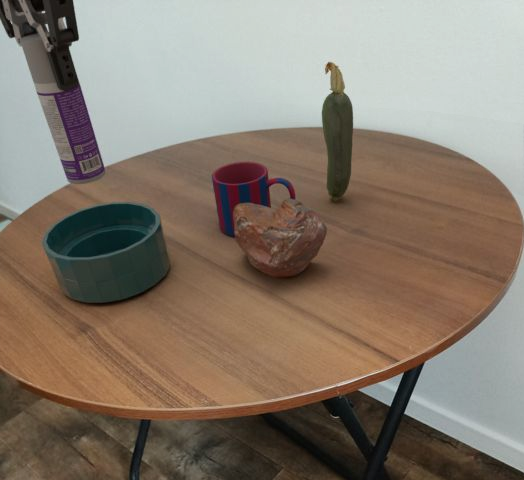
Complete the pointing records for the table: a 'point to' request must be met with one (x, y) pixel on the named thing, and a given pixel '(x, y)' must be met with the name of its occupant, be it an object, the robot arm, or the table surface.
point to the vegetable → (337, 134)
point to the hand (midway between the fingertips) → (57, 84)
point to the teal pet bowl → (107, 251)
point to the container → (64, 117)
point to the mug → (242, 190)
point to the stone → (279, 236)
